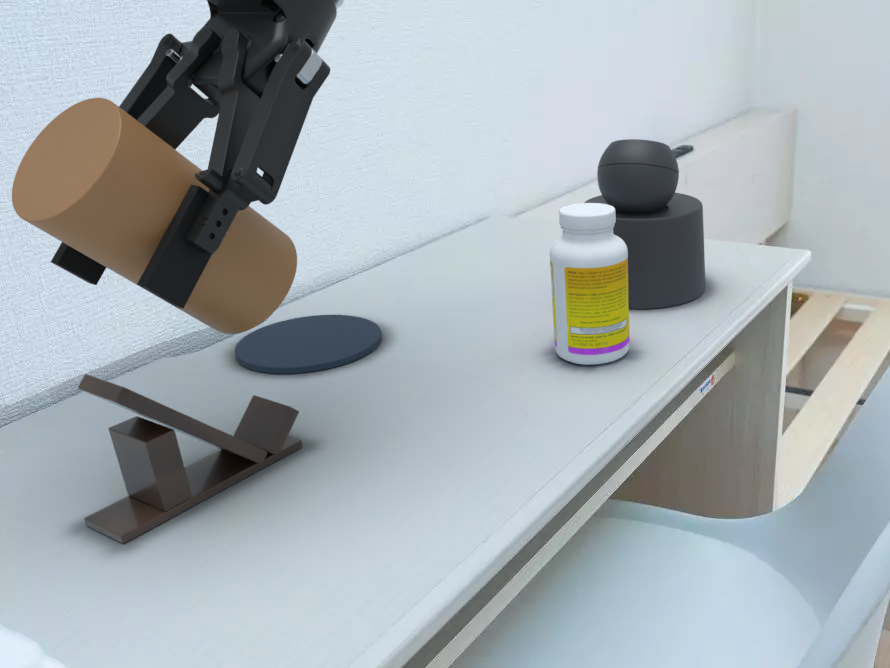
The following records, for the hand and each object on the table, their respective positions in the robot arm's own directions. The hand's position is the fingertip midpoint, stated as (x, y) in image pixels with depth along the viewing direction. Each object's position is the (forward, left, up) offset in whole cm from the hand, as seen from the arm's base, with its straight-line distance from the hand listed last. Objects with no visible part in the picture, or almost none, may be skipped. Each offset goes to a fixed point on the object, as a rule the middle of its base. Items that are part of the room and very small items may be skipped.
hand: (115, 284), depth 53 cm
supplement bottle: (+11, +34, -15) cm, 39 cm away
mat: (-13, +23, -15) cm, 30 cm away
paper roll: (0, +4, +3) cm, 5 cm away
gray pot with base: (+6, +52, -15) cm, 54 cm away
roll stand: (0, +2, -15) cm, 15 cm away
